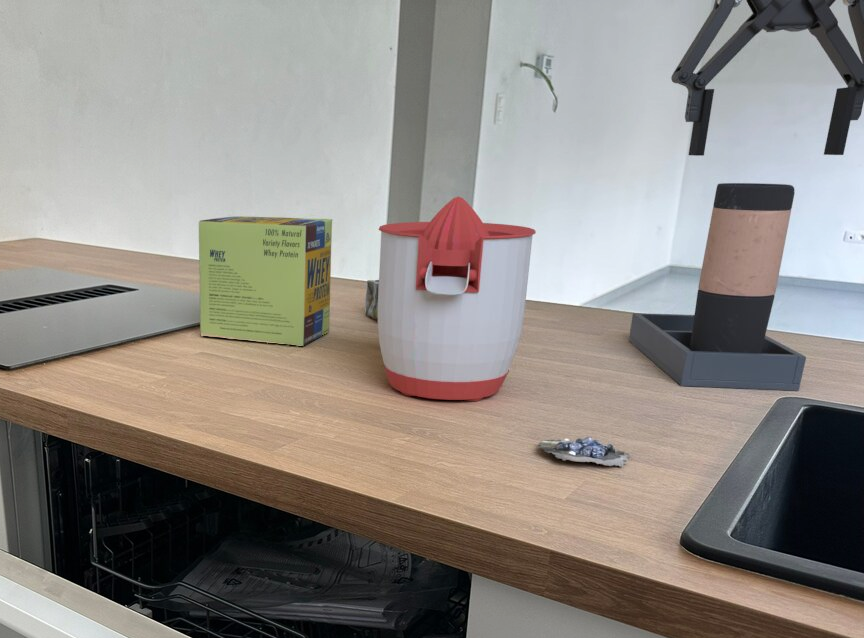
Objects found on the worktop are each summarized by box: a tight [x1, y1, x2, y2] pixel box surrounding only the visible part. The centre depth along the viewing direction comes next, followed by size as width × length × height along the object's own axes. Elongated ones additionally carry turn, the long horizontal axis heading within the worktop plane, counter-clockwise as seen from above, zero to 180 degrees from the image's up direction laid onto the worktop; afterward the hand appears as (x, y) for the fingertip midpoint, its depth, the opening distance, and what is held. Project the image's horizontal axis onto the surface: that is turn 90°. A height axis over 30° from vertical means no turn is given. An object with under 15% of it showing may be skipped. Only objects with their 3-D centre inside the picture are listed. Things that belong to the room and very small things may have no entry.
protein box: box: [198, 215, 333, 347], centre depth 116 cm, size 10×15×16 cm
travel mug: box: [690, 182, 795, 353], centre depth 95 cm, size 8×8×20 cm
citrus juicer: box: [377, 196, 537, 402], centre depth 89 cm, size 16×17×20 cm
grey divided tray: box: [628, 312, 807, 392], centre depth 104 cm, size 12×23×4 cm, turn 171°
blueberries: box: [536, 436, 631, 468], centre depth 73 cm, size 7×8×2 cm
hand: (763, 155), depth 91 cm, fingers open, 13 cm apart
